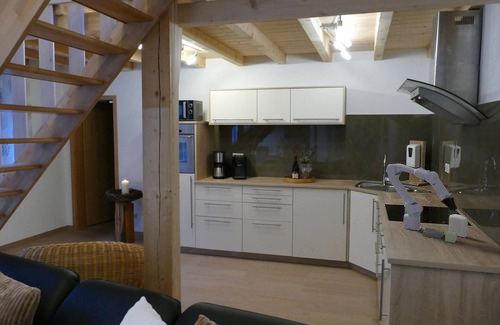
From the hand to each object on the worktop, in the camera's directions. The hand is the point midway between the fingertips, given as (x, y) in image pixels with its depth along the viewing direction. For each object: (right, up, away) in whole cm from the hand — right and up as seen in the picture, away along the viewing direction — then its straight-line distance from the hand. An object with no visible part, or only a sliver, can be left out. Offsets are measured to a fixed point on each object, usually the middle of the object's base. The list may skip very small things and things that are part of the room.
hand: (454, 209), depth 220 cm
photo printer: (+6, -16, +7) cm, 19 cm away
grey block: (-8, -16, +8) cm, 20 cm away
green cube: (-4, -17, -3) cm, 18 cm away
